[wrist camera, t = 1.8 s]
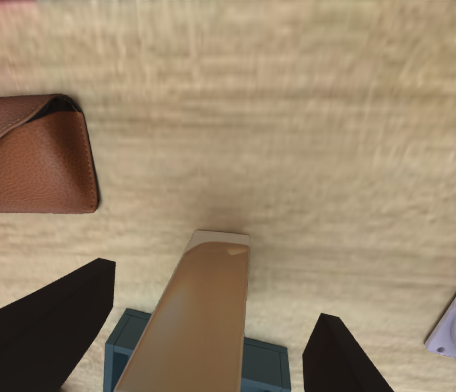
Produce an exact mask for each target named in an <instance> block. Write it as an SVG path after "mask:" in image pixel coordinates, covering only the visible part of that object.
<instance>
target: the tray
mask: <svg viewBox="0 0 456 392" xmlns="http://www.w3.org/2000/svg"><path fill="white" fill-rule="evenodd" d="M151 316H152V315H151V314H147V313H143V312H139V311H135V310H131V309H126V310H125V312H124V314H123V315H122V317H121V319H120V320H119V322H118V323H117V325H116V327H115V328H114V330H113V332H112V333H111V335H110V336H109V338H108V340H107V341H106V343H105V361H104V384H103V392H113V391H114V389H115V387H116V385H117V383H118V381H119V379H120V377H121V375H122V373H123V371H124V369H125V367H126V365H127V363H128V361H129V359H130V357H131V355H132V353H133V351H134V349H135V347H136V345H137V343H138V342H139V340H140V338H141V336H142V334H143V332H144V330H145V328H146V326H147V324H148V322H149V320H150V318H151ZM240 392H291V381H290V372H289V362H288V352H287V348H284V347H280V346H276V345H272V344H268V343H264V342H260V341H256V340H252V339H248V338H244V342H243V356H242V370H241V385H240Z"/></svg>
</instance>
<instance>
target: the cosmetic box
mask: <svg viewBox="0 0 456 392" xmlns="http://www.w3.org/2000/svg"><path fill="white" fill-rule="evenodd" d="M249 253H250V236H249V235H242V234H234V233H225V232H214V231H201V230H196V231H194V233H193V235H192V237H191V239H190V241H189V243H188V245H187V247H186V249H185V251H184V253H183V255H182V257H181V259H180V261H179V263H178V265H177V267H176V269H175V271H174V273H173V275H172V276H171V278H170V280H169V282H168V284H167V286H166V288H165V290H164V292H163V294H162V296H161V298H160V300H159V302H158V304H157V306H156V308H155V310H154V312H153V314H152V316H151V318H150V320H149V322H148V324H147V326H146V328H145V330H144V332H143V334H142V336H141V338H140V340H139V342H138V343H137V345H136V347H135V349H134V351H133V353H132V355H131V357H130V359H129V361H128V363H127V365H126V367H125V369H124V371H123V373H122V375H121V377H120V379H119V381H118V383H117V385H116V387H115V389H114V391H113V392H240V385H241V370H242V356H243V342H244V327H245V314H246V300H247V287H248V273H249Z"/></svg>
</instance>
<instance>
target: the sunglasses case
mask: <svg viewBox="0 0 456 392" xmlns="http://www.w3.org/2000/svg"><path fill="white" fill-rule="evenodd" d="M98 202H99V198H98V190H97V181H96V174H95V168H94V162H93V157H92V152H91V147H90V141H89V136H88V132H87V127H86V123H85V118H84V114H83V113H82V111H81V109H80V108H79V106H78V105H77V104H76V103H75V102H74V101H73V100H72V99H71V98H70V97H68V96H67V95H64V94H47V95H25V96H10V97H0V213H58V214H83V213H94V212H95V211H96V209H97V206H98Z"/></svg>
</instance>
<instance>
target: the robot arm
mask: <svg viewBox="0 0 456 392" xmlns="http://www.w3.org/2000/svg"><path fill="white" fill-rule="evenodd" d="M115 266H116V262H114V261H110V260H106V259H102V258H97V259H95V260H93V261H92V262H90V263H88V264H86V265H84V266H82V267H80V268H79V269H77V270H75V271H73V272H71V273H69V274H68V275H66V276H64V277H62V278H60V279H58V280H56V281H54V282H53V283H51V284H49V285H47V286H45V287H43V288H41V289H39V290H37V291H35V292H33V293H31V294H29V295H27V296H25V297H23V298H21V299H19V300H17V301H15V302H13V303H11V304H9V305H7V306H4V307H2V308H0V392H58V391H59V389H60V388H61V386H62V385H63V384H64V382H65V381H66V379H67V378H68V376H69V375H70V374H71V372H72V371H73V369H74V368H75V367H76V365H77V364H78V362H79V361H80V360H81V358H82V357H83V355H84V354H85V352H86V351H87V350H88V348H89V347H90V345H91V344H92V342H93V341H94V339H95V338H96V337H97V335H98V333H99V331H100V330H101V328H102V326H103V324H104V323H105V321H106V319H107V317H108V315H109V313H110V311H111V310H112V308H113V299H114V283H115ZM425 347H426V348H427V350H428V351H429V352H433V353H437V354H441V355H445V356H449V357H453V358H456V298H455V299H454V301H453V302H452V304H451V305H450V307H449V308H448V310H447V311H446V313H445V314H444V316H443V317H442V319H441V320H440V322H439V323H438V325H437V326H436V328H435V329H434V331H433V332H432V334H431V335H430V337H429V338H428V340H427V341H426V343H425ZM302 358H303V378H304V390H305V392H394V391H393V390H392V388H391V387H390V386H389V384H388V383H387V382H386V380H385V379H384V378H383V376H382V375H381V374H380V372H379V371H378V370H377V368H376V367H375V366H374V364H373V363H372V362H371V360H370V359H369V358H368V356H367V355H366V353H365V352H364V351H363V349H362V348H361V347H360V345H359V344H358V342H357V341H356V340H355V338H354V337H353V335H352V334H351V333H350V331H349V330H348V329H347V327H346V326H345V325H344V323H343V322H342V321H341V319H340V318H339V317H336V316H332V315H328V314H324V313H321V314H320V316H319V319H318V321H317V323H316V325H315V328H314V330H313V332H312V334H311V336H310V339H309V341H308V343H307V345H306V348H305V350H304V352H303V354H302Z"/></svg>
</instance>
